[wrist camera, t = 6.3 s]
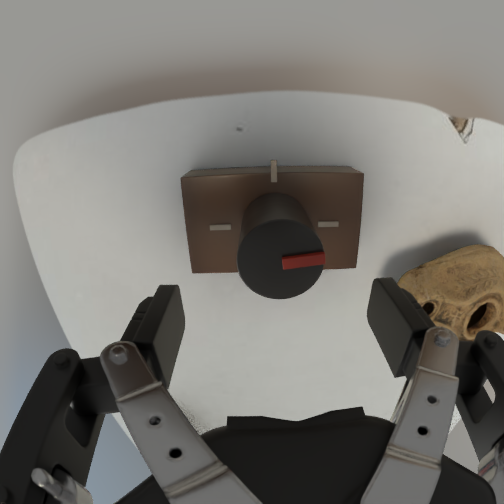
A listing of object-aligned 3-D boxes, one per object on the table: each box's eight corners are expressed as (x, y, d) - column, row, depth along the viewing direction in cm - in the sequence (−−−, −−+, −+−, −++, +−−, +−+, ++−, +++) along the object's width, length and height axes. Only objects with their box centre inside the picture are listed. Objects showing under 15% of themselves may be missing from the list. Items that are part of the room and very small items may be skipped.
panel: (200, 265, 24) (192, 284, 21) (189, 159, 21) (178, 165, 18) (344, 260, 24) (355, 279, 21) (351, 156, 20) (365, 161, 18)
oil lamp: (386, 230, 23) (433, 276, 15) (501, 233, 22) (549, 267, 15) (365, 334, 27) (390, 394, 20) (473, 319, 27) (507, 362, 20)
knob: (247, 259, 21) (243, 307, 15) (236, 197, 19) (228, 228, 14) (310, 251, 20) (327, 296, 15) (304, 188, 19) (324, 215, 13)
